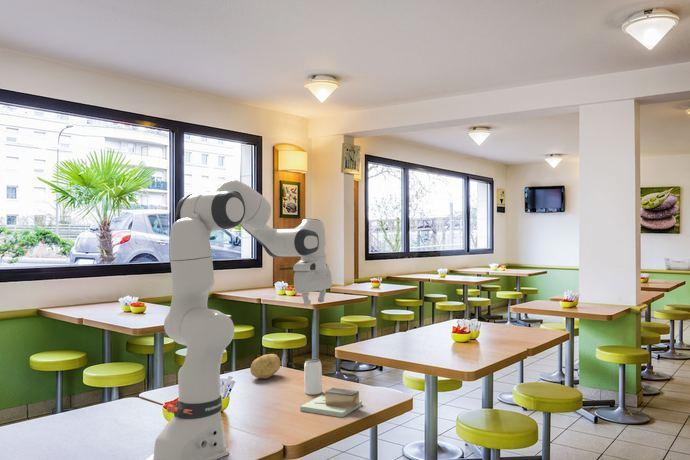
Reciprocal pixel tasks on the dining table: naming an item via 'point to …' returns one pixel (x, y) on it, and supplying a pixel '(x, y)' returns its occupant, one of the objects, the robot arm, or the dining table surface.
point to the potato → (265, 366)
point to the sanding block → (342, 398)
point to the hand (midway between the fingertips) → (314, 303)
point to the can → (313, 376)
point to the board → (326, 407)
